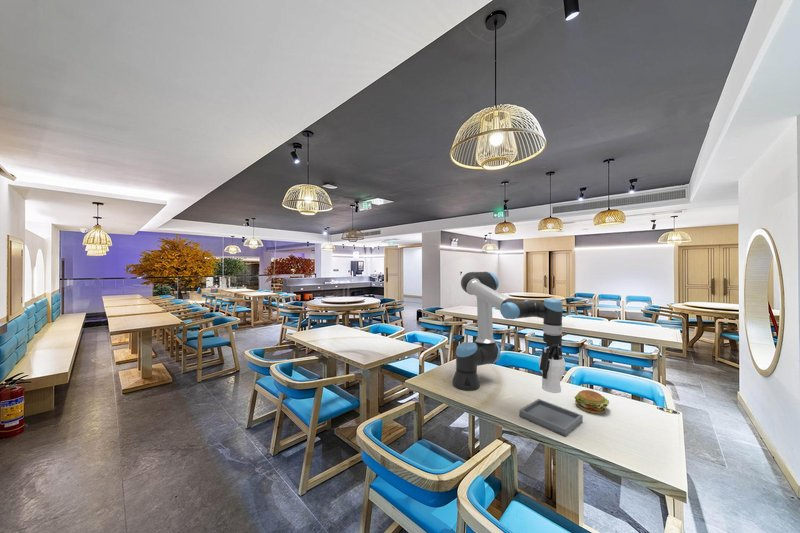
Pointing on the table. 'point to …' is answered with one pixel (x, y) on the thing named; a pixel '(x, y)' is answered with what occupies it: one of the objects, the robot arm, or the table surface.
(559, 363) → the cup
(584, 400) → the food
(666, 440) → the table surface
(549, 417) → the tray
